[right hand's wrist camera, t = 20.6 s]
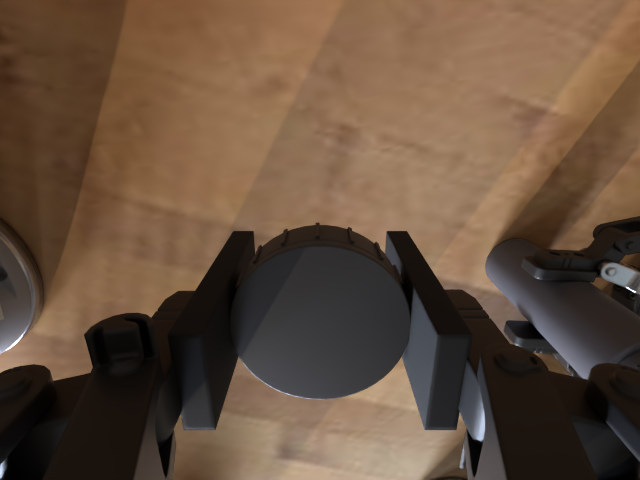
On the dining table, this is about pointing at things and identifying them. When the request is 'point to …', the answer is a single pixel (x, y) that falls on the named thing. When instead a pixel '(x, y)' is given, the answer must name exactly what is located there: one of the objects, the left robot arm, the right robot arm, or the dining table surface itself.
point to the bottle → (567, 312)
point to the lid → (320, 313)
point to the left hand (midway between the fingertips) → (520, 301)
